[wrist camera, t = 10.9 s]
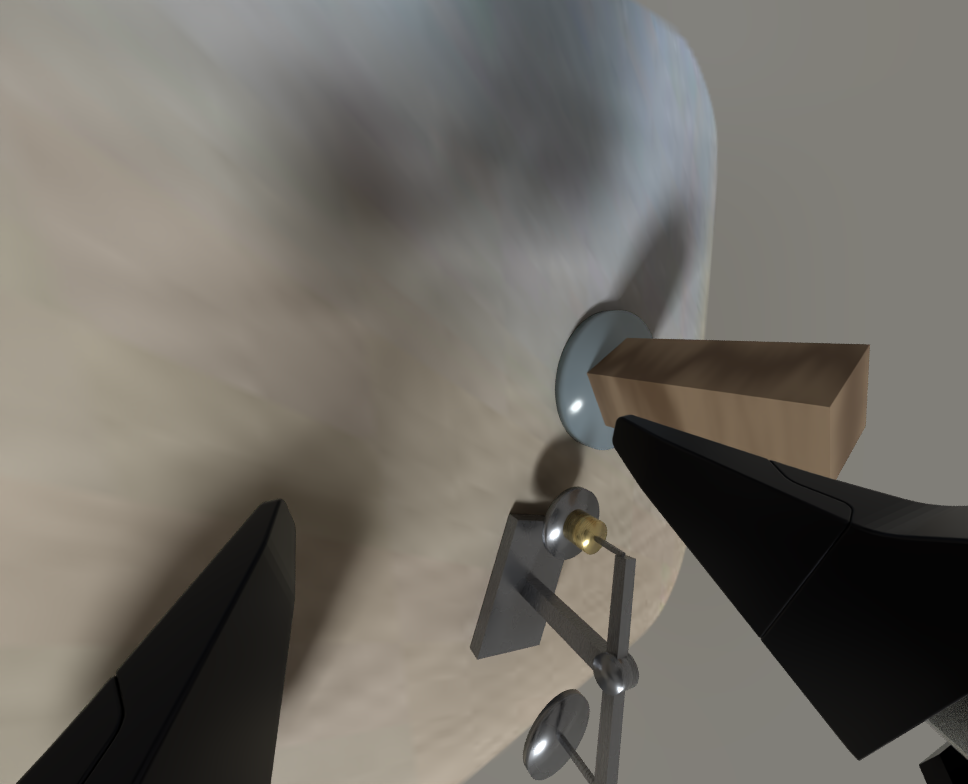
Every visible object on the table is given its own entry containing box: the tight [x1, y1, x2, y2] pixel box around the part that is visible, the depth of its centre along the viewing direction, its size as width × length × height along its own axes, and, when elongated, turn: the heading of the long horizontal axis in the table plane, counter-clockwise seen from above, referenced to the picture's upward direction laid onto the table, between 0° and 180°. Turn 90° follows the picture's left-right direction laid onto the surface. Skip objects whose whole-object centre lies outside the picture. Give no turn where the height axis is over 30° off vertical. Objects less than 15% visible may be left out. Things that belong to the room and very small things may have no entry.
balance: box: [470, 487, 639, 784], centre depth 22 cm, size 17×6×10 cm, turn 160°
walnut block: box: [587, 338, 870, 480], centre depth 22 cm, size 5×5×13 cm
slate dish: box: [555, 310, 653, 450], centre depth 28 cm, size 11×11×1 cm
